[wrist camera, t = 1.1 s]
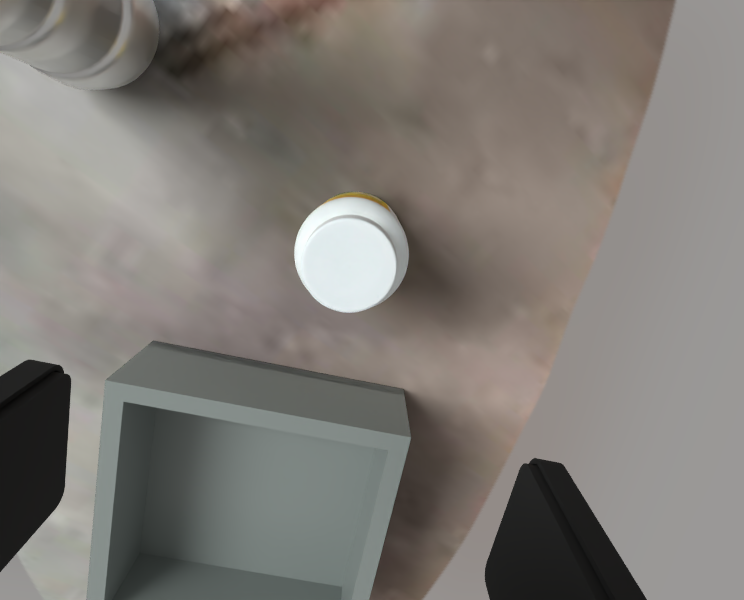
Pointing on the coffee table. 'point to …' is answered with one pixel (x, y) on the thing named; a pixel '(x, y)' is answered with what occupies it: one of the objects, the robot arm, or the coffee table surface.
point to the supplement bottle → (351, 252)
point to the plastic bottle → (81, 39)
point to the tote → (242, 480)
